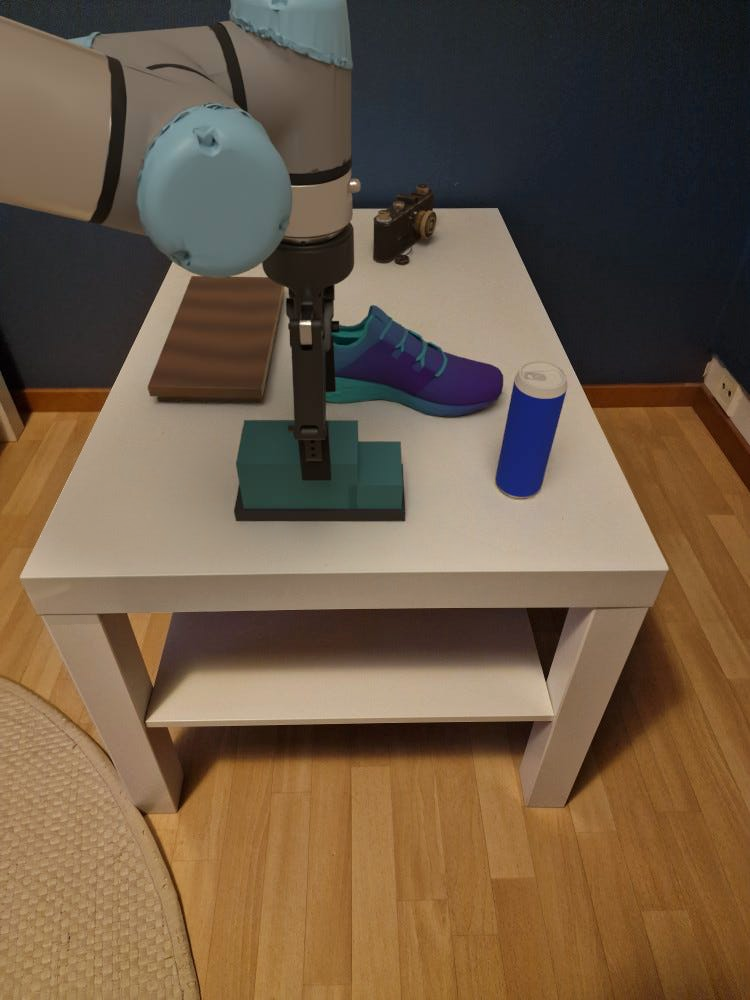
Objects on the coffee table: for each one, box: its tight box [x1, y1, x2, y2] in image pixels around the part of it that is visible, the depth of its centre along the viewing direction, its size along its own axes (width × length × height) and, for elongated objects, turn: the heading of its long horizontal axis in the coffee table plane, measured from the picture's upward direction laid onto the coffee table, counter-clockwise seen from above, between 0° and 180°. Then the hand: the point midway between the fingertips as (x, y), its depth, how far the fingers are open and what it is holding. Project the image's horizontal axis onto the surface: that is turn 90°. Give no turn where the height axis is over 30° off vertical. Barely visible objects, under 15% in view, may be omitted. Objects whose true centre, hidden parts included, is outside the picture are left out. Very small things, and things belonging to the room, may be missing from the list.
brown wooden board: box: [147, 275, 286, 404], centre depth 95 cm, size 28×14×3 cm, turn 0°
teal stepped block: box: [233, 419, 406, 522], centre depth 73 cm, size 18×8×8 cm, turn 91°
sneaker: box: [326, 304, 504, 418], centre depth 85 cm, size 10×26×12 cm, turn 81°
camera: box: [372, 183, 438, 266], centre depth 116 cm, size 16×7×8 cm, turn 148°
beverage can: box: [494, 360, 568, 499], centre depth 72 cm, size 5×5×15 cm
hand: (320, 431), depth 69 cm, fingers open, 13 cm apart
